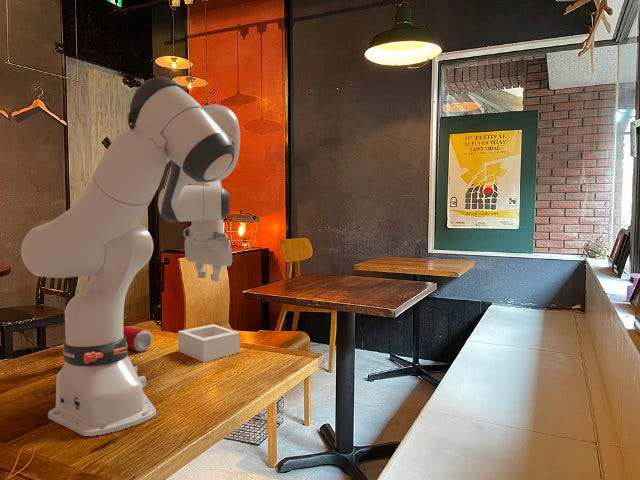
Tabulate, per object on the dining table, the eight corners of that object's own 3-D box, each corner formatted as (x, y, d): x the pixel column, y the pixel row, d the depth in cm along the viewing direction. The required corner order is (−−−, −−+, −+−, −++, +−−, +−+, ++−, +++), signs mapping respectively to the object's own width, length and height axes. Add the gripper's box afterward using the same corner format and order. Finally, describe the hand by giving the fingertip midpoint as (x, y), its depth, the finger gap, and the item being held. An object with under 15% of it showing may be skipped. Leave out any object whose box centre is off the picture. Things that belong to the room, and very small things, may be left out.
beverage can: (156, 334, 141) (131, 329, 147) (141, 327, 136) (115, 322, 142) (148, 354, 138) (122, 348, 145) (132, 348, 134) (106, 342, 140)
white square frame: (239, 352, 137) (239, 332, 136) (203, 362, 128) (203, 340, 128) (213, 343, 146) (213, 324, 146) (178, 351, 138) (178, 331, 138)
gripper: (237, 232, 130) (237, 282, 131) (199, 230, 144) (199, 274, 145) (217, 233, 125) (218, 284, 126) (180, 230, 140) (181, 276, 141)
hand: (208, 279), depth 136 cm, fingers open, 6 cm apart
